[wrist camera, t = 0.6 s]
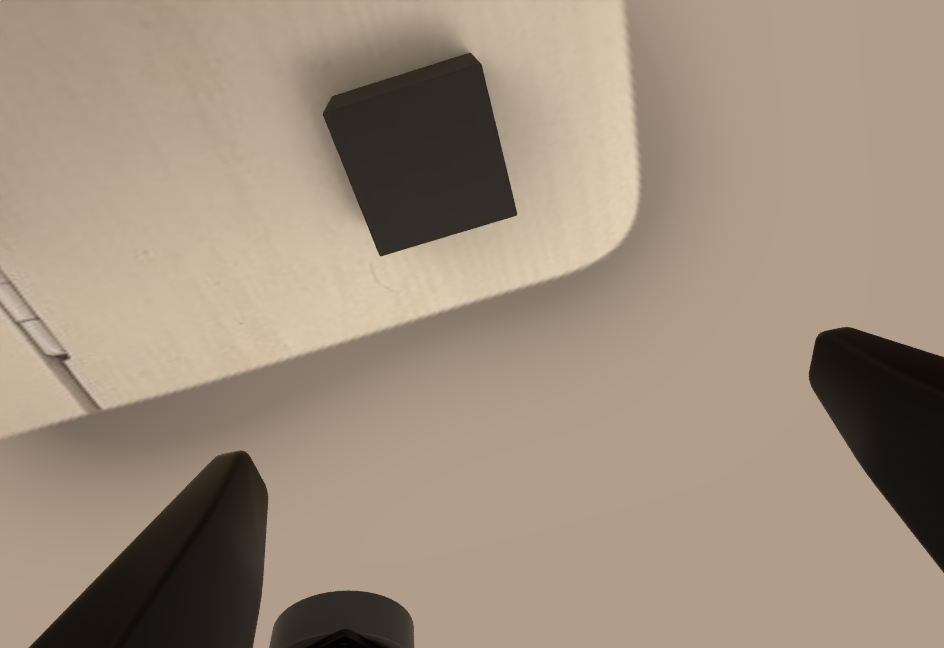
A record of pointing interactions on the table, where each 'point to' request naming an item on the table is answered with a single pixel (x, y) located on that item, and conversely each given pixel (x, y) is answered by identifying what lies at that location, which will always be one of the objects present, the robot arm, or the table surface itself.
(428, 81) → the black block
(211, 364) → the table surface
